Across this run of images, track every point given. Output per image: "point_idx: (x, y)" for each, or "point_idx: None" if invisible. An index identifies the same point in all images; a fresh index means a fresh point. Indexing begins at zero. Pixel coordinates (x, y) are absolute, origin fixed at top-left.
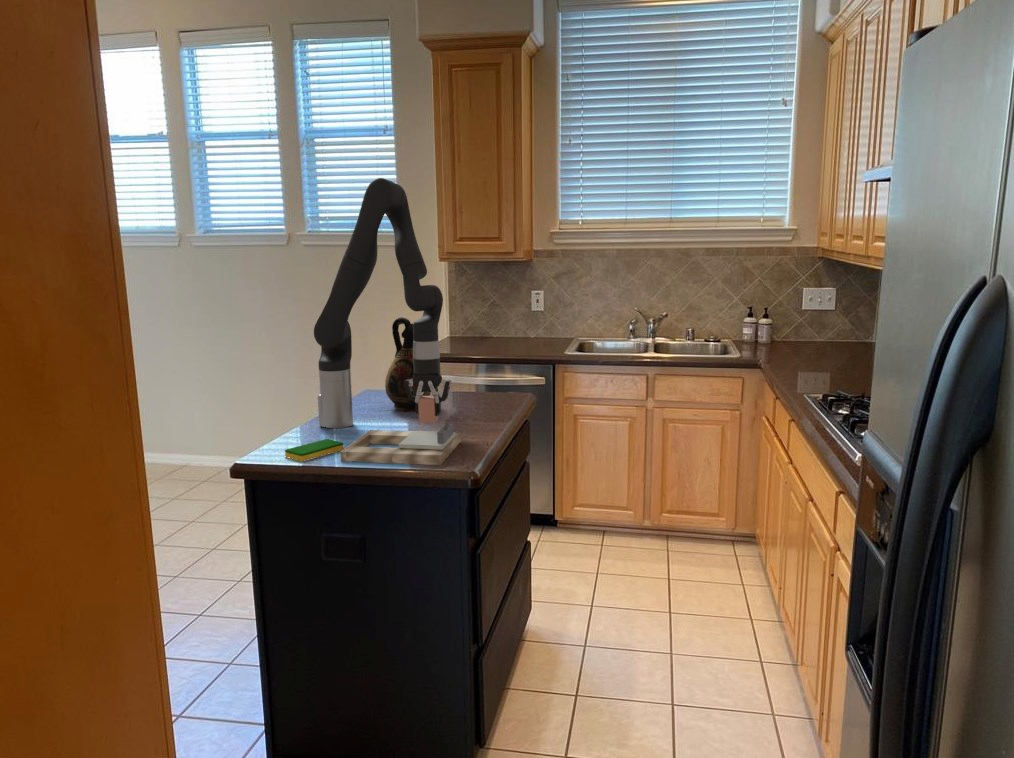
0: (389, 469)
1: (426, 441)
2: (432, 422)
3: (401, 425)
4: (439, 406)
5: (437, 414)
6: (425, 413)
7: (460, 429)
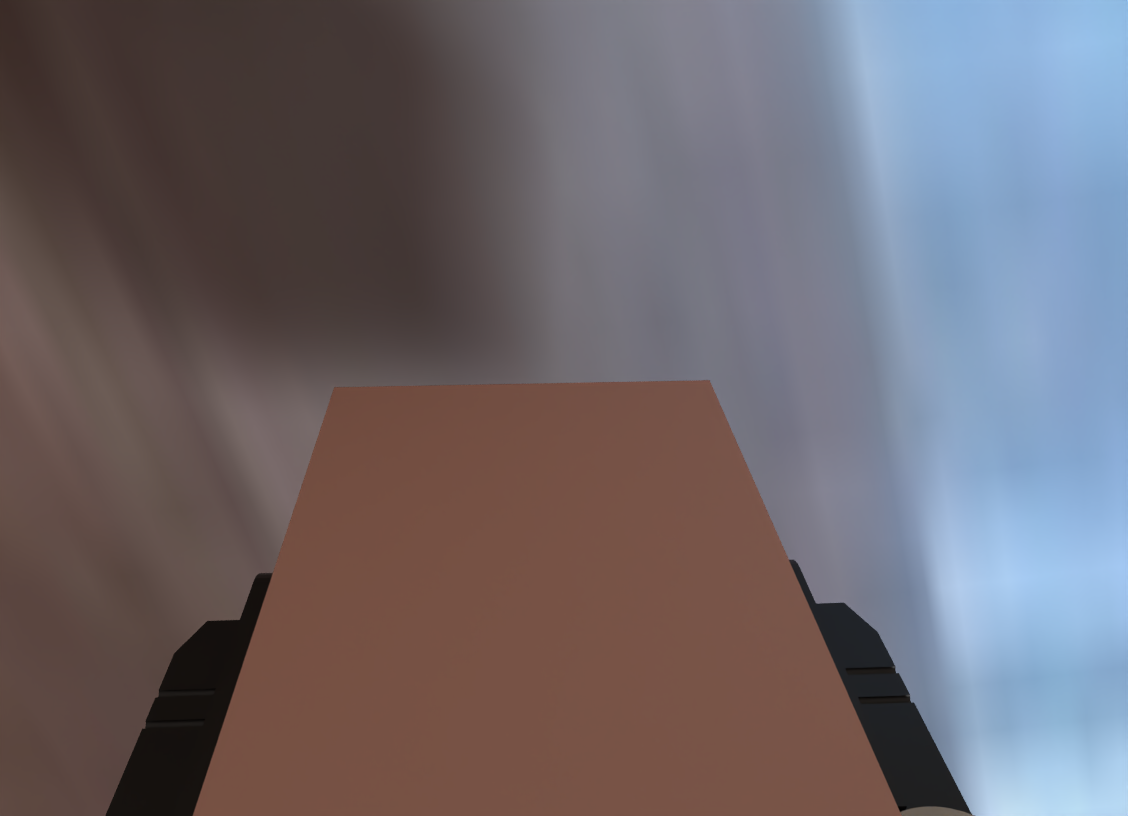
0: None
1: None
2: (381, 396)
3: (1061, 765)
4: (127, 784)
5: (254, 596)
6: (558, 506)
7: (78, 689)
